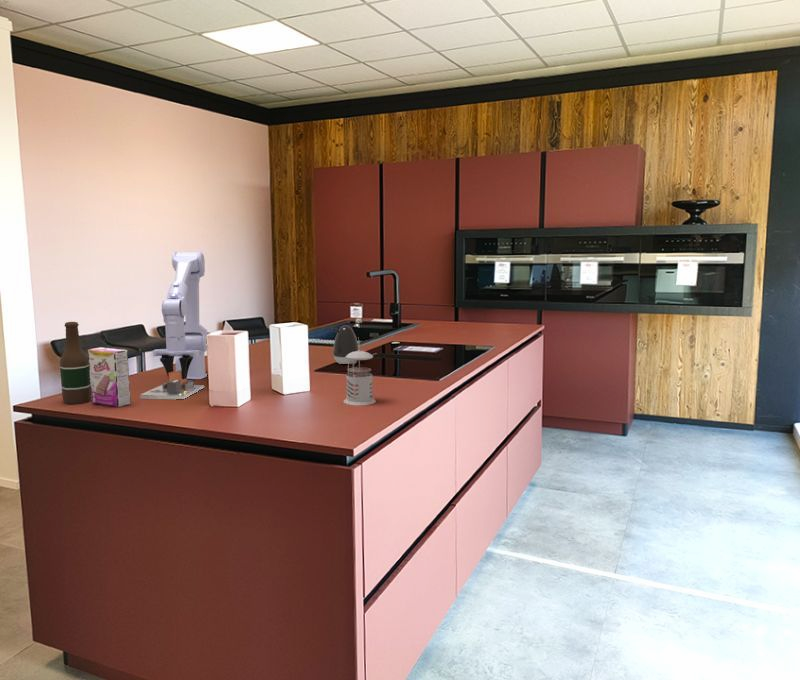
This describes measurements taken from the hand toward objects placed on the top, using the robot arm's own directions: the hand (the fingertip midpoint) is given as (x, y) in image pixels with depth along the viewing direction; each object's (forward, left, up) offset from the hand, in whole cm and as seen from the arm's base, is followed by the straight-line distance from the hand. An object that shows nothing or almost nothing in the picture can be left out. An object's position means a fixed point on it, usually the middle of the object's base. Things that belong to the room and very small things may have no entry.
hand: (177, 378), depth 209 cm
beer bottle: (-24, -17, -4) cm, 29 cm away
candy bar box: (-12, -19, -4) cm, 23 cm away
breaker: (+2, -7, -3) cm, 7 cm away
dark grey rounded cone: (+44, +53, -4) cm, 69 cm away
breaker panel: (0, -4, -4) cm, 5 cm away
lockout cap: (0, 0, -2) cm, 2 cm away
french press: (+60, -7, -4) cm, 61 cm away
